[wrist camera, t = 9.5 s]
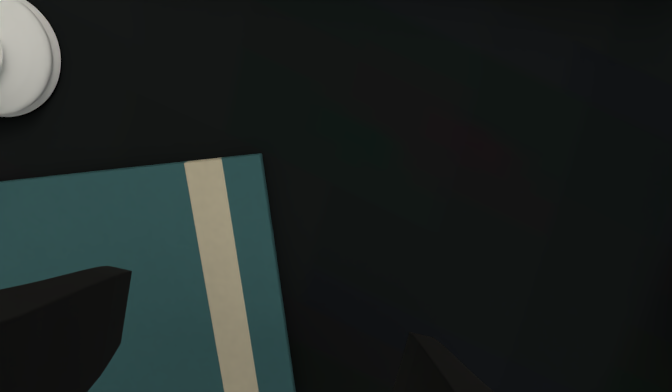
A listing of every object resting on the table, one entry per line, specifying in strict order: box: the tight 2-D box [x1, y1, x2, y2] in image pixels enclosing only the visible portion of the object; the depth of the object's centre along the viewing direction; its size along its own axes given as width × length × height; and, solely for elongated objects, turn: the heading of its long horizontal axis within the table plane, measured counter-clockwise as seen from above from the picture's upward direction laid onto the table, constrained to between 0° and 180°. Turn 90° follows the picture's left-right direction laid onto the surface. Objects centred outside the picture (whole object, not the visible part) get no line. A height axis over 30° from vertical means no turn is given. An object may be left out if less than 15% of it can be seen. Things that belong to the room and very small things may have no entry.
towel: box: [0, 153, 296, 392], centre depth 22 cm, size 13×20×1 cm, turn 96°
